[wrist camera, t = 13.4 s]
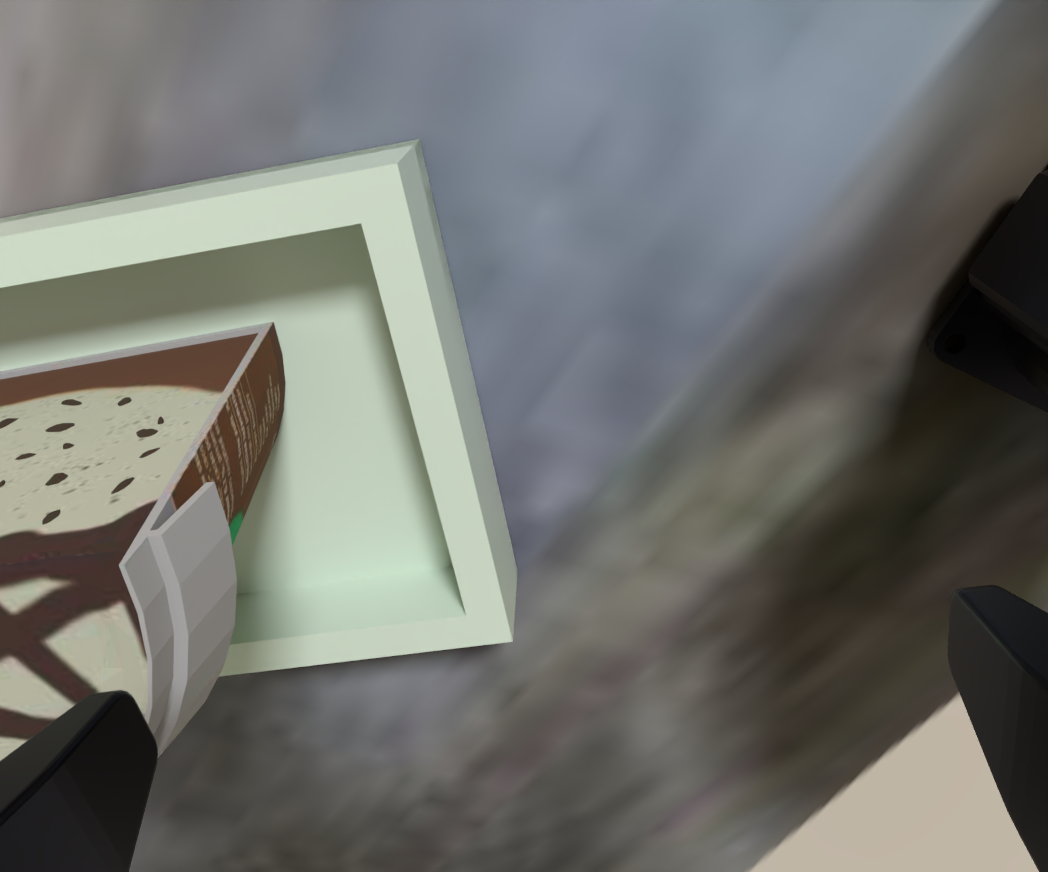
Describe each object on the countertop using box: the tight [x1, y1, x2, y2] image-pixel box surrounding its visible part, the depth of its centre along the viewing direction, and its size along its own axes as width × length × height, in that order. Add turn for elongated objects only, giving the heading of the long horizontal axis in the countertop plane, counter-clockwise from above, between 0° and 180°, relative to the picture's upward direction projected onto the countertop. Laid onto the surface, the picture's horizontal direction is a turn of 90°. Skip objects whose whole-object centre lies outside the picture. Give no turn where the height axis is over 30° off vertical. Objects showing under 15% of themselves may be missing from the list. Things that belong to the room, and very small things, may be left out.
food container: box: [0, 322, 286, 761], centre depth 18 cm, size 12×6×10 cm, turn 101°
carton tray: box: [0, 139, 518, 677], centre depth 22 cm, size 18×12×3 cm, turn 100°
